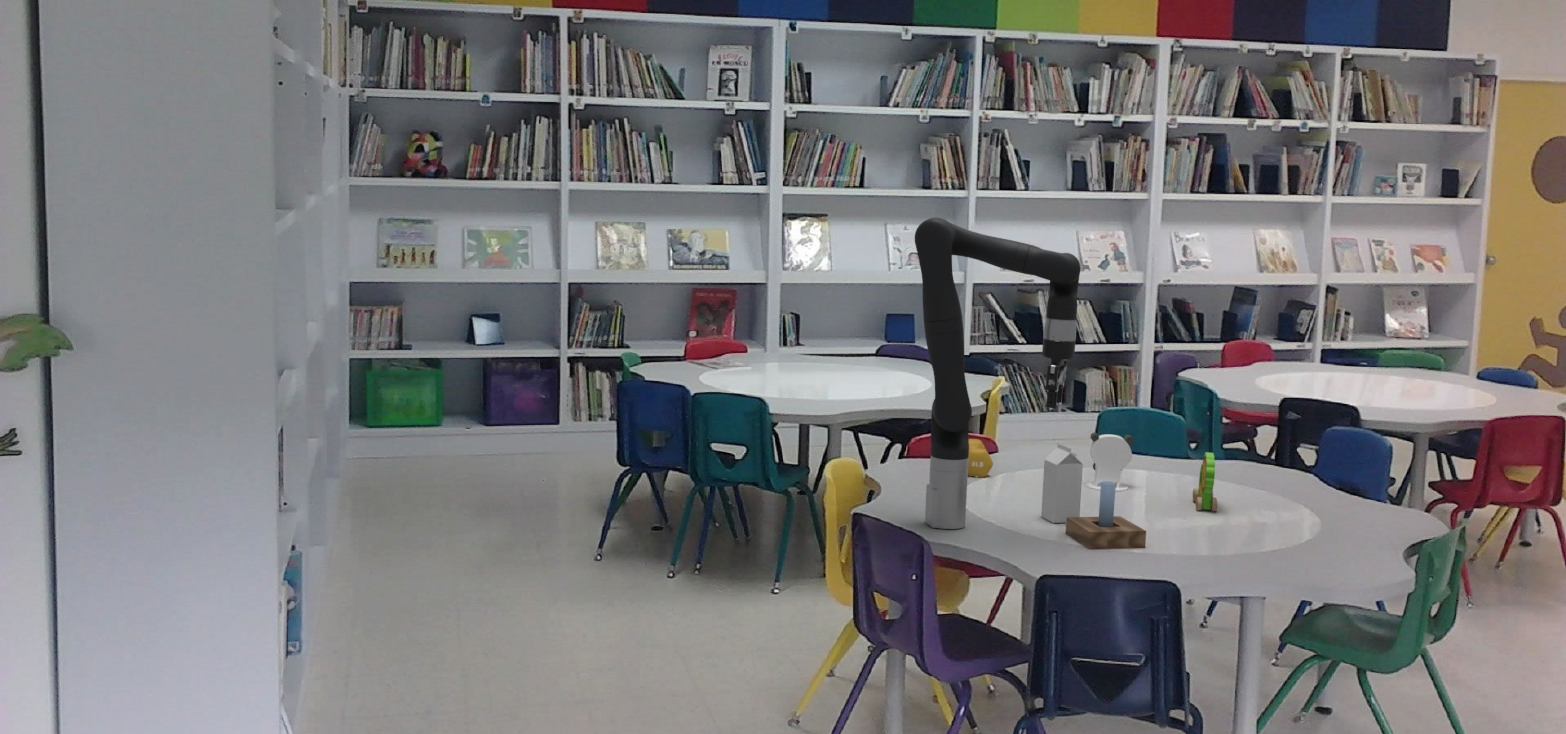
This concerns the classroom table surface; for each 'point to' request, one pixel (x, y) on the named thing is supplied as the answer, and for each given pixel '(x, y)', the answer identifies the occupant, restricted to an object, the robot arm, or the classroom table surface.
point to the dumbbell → (978, 459)
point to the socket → (1105, 533)
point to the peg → (1106, 504)
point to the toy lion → (1206, 485)
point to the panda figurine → (1110, 459)
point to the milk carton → (1061, 485)
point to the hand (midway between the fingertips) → (1054, 405)
